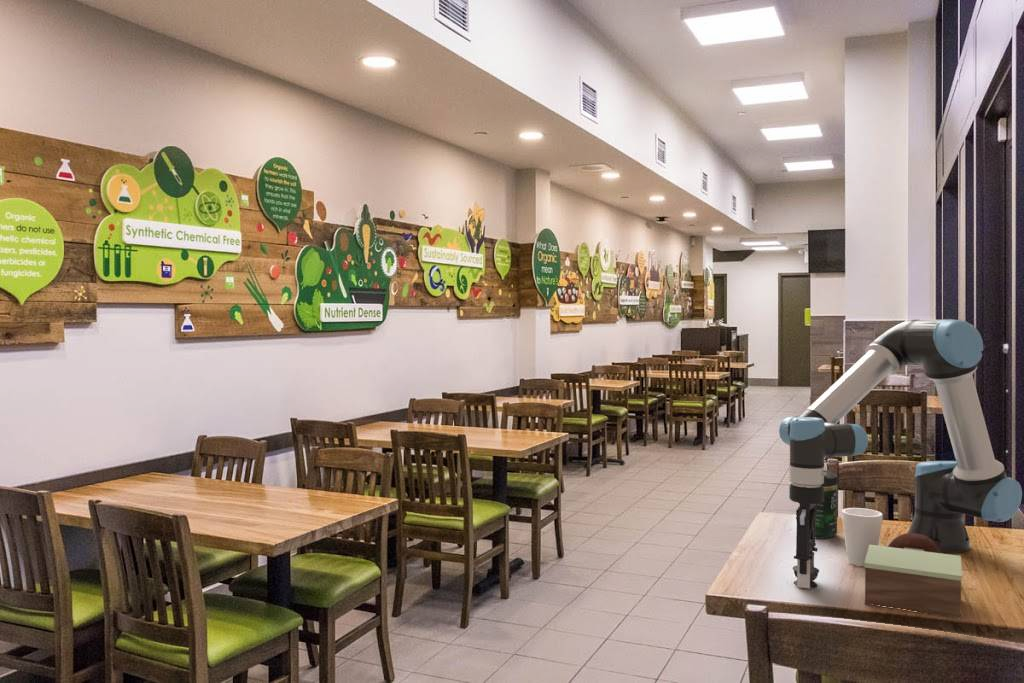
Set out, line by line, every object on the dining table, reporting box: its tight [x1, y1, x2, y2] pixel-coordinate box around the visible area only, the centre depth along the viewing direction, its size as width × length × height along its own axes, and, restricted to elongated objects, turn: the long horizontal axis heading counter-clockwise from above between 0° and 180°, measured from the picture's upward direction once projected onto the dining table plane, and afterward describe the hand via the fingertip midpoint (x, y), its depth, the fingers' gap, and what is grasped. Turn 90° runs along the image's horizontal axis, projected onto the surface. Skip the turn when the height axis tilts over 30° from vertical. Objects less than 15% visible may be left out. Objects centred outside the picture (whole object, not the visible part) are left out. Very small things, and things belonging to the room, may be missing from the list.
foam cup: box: [841, 507, 884, 567], centre depth 198 cm, size 10×9×13 cm
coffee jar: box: [814, 469, 839, 539], centre depth 224 cm, size 10×8×19 cm
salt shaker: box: [792, 538, 820, 589], centre depth 182 cm, size 6×6×12 cm
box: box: [864, 567, 962, 620], centre depth 171 cm, size 14×18×8 cm
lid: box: [863, 545, 963, 582], centre depth 172 cm, size 15×18×2 cm
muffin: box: [887, 532, 943, 554], centre depth 188 cm, size 12×11×10 cm
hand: (805, 582), depth 182 cm, fingers closed on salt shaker, 6 cm apart
